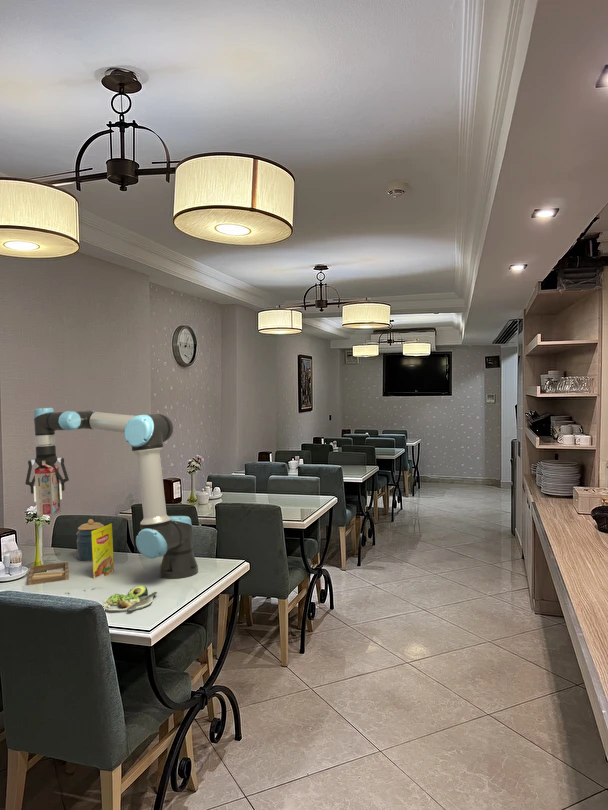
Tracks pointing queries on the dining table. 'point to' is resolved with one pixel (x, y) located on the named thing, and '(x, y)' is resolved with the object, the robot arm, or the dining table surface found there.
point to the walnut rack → (45, 568)
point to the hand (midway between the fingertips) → (48, 500)
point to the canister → (86, 540)
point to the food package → (102, 551)
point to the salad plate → (130, 599)
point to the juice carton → (47, 490)
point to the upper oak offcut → (48, 575)
